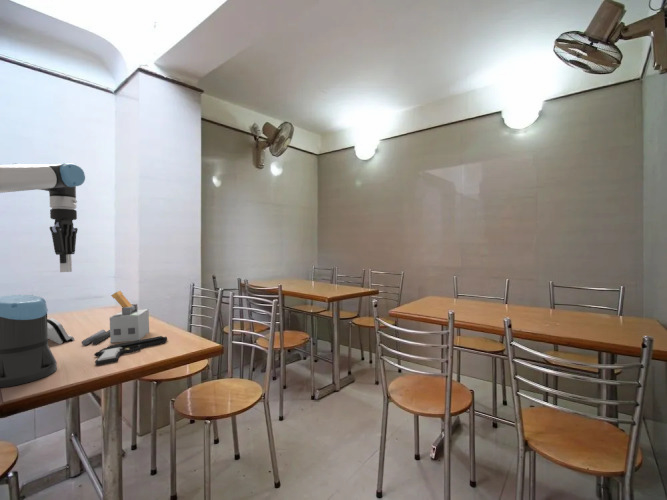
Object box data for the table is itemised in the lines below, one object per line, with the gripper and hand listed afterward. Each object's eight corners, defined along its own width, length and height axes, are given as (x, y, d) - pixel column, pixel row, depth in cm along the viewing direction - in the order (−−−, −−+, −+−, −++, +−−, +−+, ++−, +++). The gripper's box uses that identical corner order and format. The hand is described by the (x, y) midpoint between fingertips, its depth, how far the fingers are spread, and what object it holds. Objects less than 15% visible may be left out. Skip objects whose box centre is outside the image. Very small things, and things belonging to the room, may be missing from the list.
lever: (126, 314, 126) (110, 295, 124) (131, 312, 131) (115, 293, 129) (132, 311, 126) (115, 292, 125) (136, 308, 131) (121, 290, 130)
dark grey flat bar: (81, 345, 119) (81, 339, 118) (99, 335, 132) (99, 329, 132) (98, 344, 120) (97, 338, 120) (114, 334, 133) (114, 328, 133)
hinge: (75, 340, 125) (63, 319, 122) (61, 347, 122) (48, 325, 118) (60, 334, 135) (49, 314, 131) (47, 340, 131) (35, 320, 128)
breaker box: (110, 342, 122) (109, 309, 121) (123, 333, 133) (122, 303, 133) (138, 340, 124) (137, 308, 124) (149, 331, 136) (148, 302, 135)
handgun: (175, 343, 113) (165, 334, 124) (95, 360, 98) (93, 347, 109) (175, 351, 113) (166, 340, 124) (95, 368, 98) (93, 355, 109)
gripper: (64, 207, 111) (66, 273, 111) (85, 210, 124) (87, 269, 124) (39, 206, 109) (41, 274, 109) (62, 210, 122) (65, 270, 123)
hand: (66, 271), depth 117 cm, fingers closed
